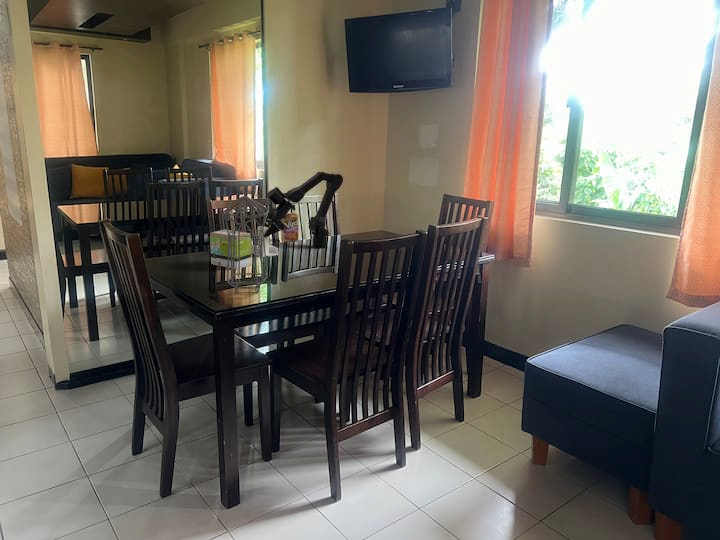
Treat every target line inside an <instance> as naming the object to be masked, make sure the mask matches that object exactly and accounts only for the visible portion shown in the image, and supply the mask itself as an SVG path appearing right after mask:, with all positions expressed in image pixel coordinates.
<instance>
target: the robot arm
mask: <svg viewBox="0 0 720 540" xmlns="http://www.w3.org/2000/svg"><path fill="white" fill-rule="evenodd" d="M323 181H324V182H325V183H326V184H325V187H326V189H325V192H324V195H323V196H322V199H321V202H320V203H319V204H320V205H319V207H318V210H317V212H316V215H314V216H311V217H310V219H309V222H308V229H309V231H310V233H311V235H313V236H312V239H311V242H312V243H311V247H313V248H314V247H315V249H326V248H325V247H328V246H327V240H328V239H327V237H329V234H330V232H329V231H328V230H327V229H326V224H327V223H326V217H327V214H328V212H329V209H330V207H331V204H332V201H333V199H334V197H335V194H336V193H337V191H338V190H339V189H341V186H342V184H343V182H344V177H343V175H342V174H341V173H340V174H339V173H333V172H332V173H328V172H325V171H318V172H316V173H315V174H314V175H313V176H312V177H310V178H308V179H307V180H306V181H304V182H303V183H302V184H301V185H299V186H296V187H292V188H291V189H289V190H287V192H284V193H283V192H282V190H281V189H280V188H279V187H278V186H275V187H274V188H272V189H271V190H269V191H268V192H267V194H266V197H267V199H269V200H270V202H272V203H273V204H274V205H275V206H276V205H277V206H276V207H272V206H269V207H267V208H268V209H269V212H268V215H267V218H266V221H265V225H264V226H265V227H268V230H267V231H266V233H265V234H264V237H268V236H269V237H270V236H271V235H273V234H276V233H278V232H281V230H282V231H283V230H284V229H285V225H284V224H283V223H282V222H281V220H282V219H283V218H284V219H285V218H286V217H285V215H286V214H287V213H290V210H292V211H296V204H298V203H300V202H301V201H302V200H303V198H304V197H305V195H306V194H307V193H308V192H309V191H310V190H312V189H314V187H317V185H319V184H320V183H322V182H323ZM291 202H292V203H291ZM293 203H295V204H293ZM260 208H261V209H262V208H263V207H260ZM266 211H267V209H266V210H265V211H264V212H265V213H266ZM261 215H262V214H261ZM258 219H259V222H260V223H259V225H260V226H262V224H263V216H259V217H258ZM256 235H258V231H256Z"/></svg>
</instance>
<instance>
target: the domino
mask: <svg viewBox="0 0 720 540" xmlns="http://www.w3.org/2000/svg"><path fill="white" fill-rule="evenodd" d="M260 227H262V226H260ZM260 227H259V225H258V226H257V230H261V228H260ZM262 228H263V227H262ZM267 230H268V227H265V226H264V230H263V231H264V234H265V233H266V231H267ZM259 233H260V231H258V234H257V235H259ZM264 240H265V251H266V253H269V245H270V236H268V237H264ZM260 245H261V235H260ZM257 247H259V240H258V239H257ZM262 249H263V250H264V245H263V234H262Z"/></svg>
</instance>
